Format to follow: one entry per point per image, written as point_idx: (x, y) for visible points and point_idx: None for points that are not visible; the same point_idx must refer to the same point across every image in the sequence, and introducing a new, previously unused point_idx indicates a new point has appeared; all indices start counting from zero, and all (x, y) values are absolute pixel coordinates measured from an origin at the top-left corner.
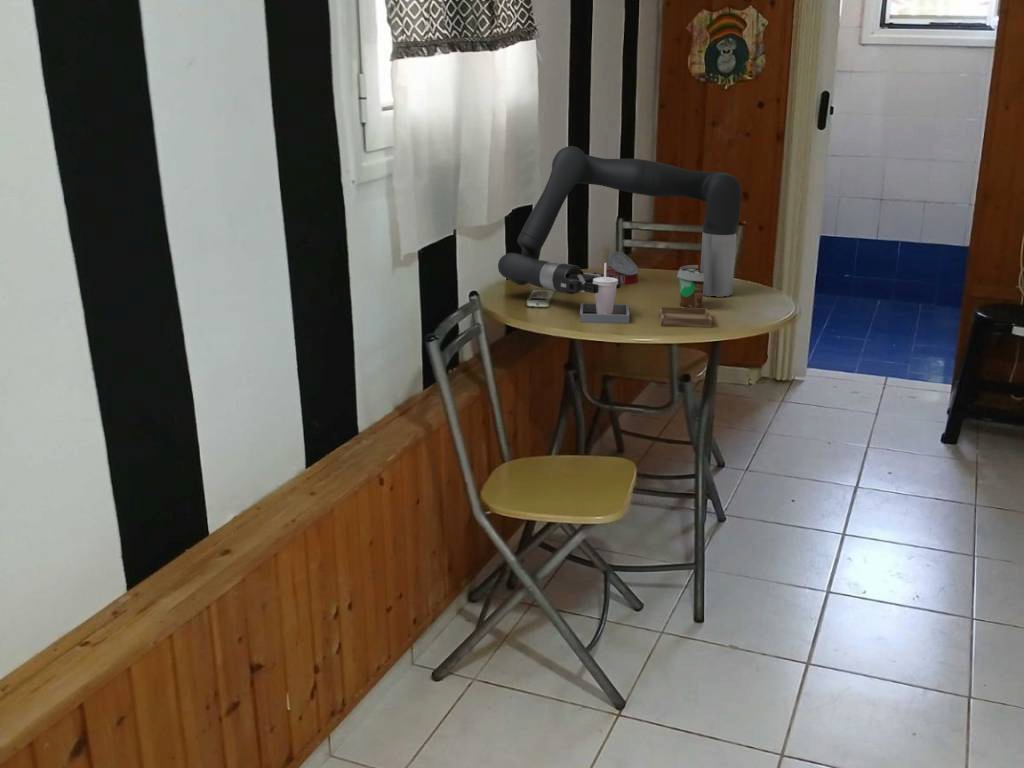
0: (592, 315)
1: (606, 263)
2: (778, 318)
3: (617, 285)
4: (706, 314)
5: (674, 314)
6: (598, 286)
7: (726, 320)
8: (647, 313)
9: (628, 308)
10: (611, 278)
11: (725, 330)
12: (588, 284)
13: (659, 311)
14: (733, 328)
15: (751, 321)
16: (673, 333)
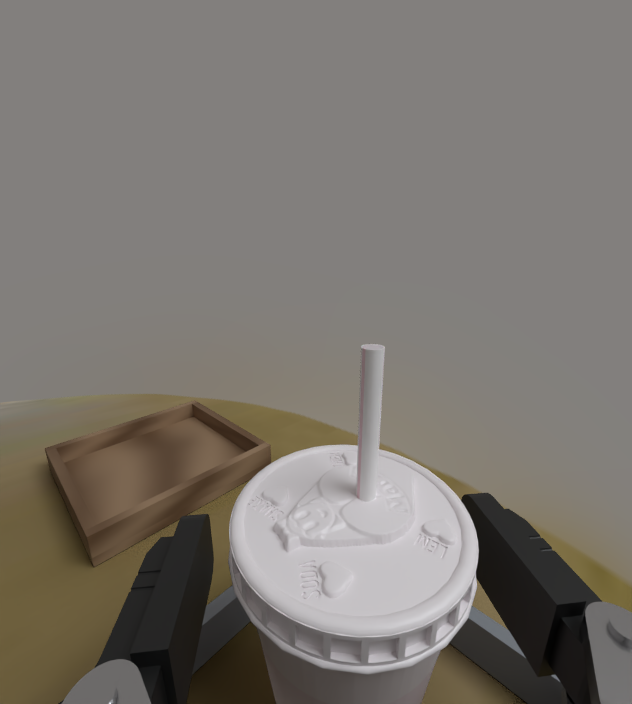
0: (497, 628)
1: (369, 349)
2: (27, 402)
3: (210, 556)
4: (113, 435)
5: (109, 504)
6: (464, 499)
7: (97, 431)
8: (81, 623)
9: (207, 606)
10: (259, 517)
11: (204, 402)
12: (549, 570)
13: (137, 521)
14: (176, 403)
15: (85, 410)
16: (309, 426)
